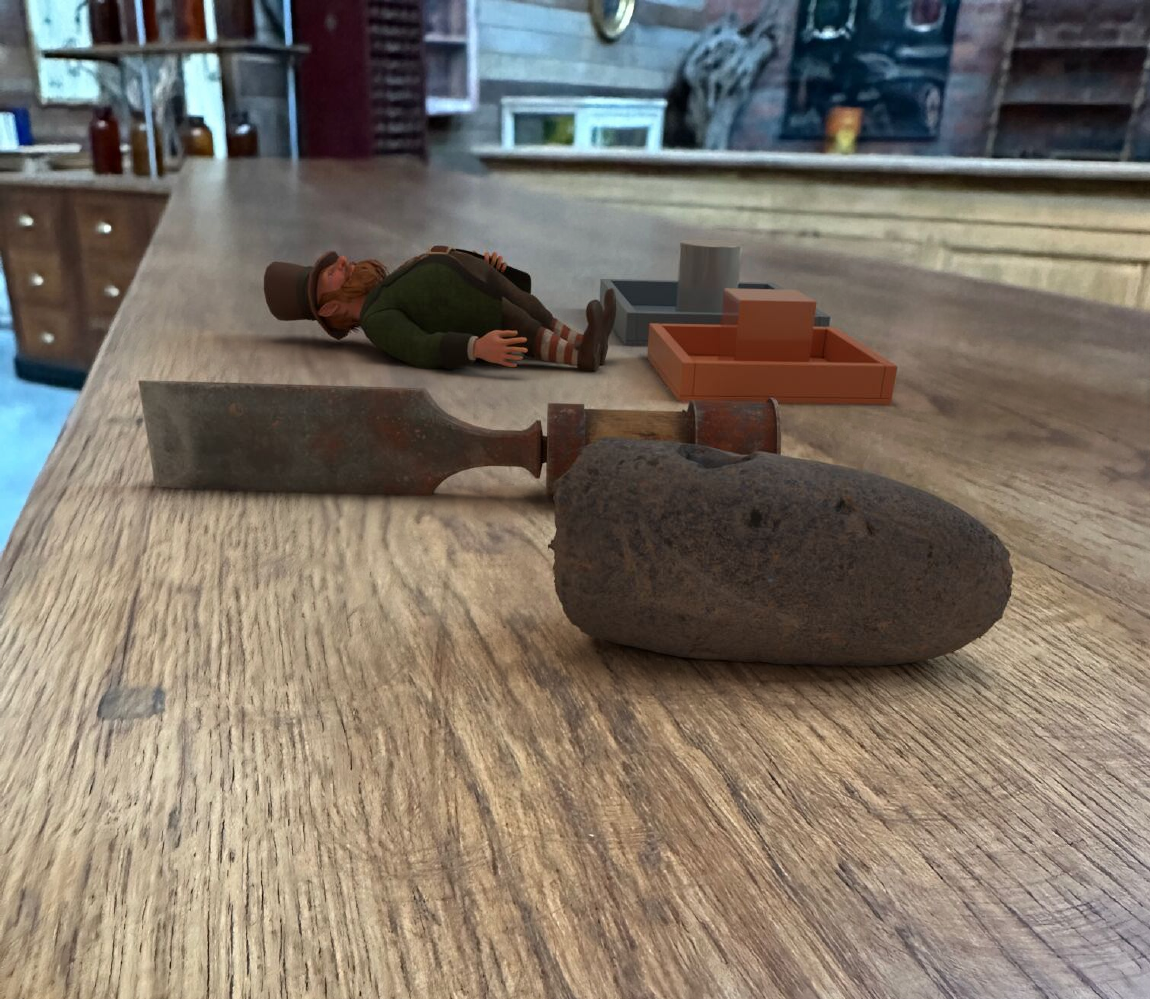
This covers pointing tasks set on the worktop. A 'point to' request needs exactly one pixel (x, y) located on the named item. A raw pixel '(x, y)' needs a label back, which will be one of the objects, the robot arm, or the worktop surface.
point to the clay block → (766, 325)
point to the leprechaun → (438, 309)
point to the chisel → (394, 436)
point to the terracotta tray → (769, 369)
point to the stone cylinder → (706, 274)
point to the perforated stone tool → (768, 558)
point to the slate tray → (663, 307)
